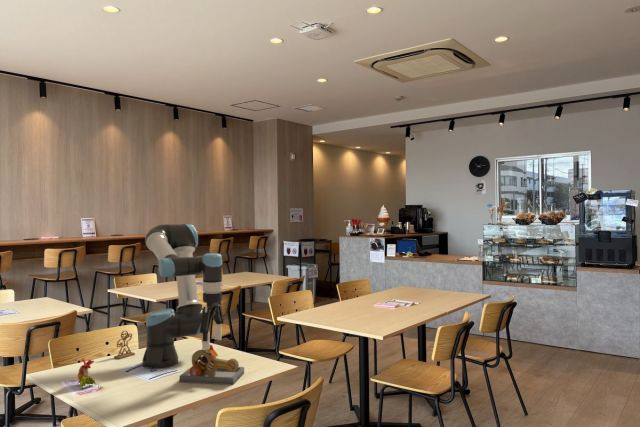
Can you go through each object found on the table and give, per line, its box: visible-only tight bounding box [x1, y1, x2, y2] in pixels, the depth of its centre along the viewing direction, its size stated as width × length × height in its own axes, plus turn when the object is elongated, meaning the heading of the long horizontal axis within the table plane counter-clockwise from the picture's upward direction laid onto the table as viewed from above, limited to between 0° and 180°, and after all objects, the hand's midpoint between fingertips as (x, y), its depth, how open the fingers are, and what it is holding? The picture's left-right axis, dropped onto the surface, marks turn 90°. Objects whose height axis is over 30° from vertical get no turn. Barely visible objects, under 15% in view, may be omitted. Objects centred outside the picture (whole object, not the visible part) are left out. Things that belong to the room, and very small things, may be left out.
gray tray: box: [179, 365, 245, 386], centre depth 196 cm, size 22×14×2 cm, turn 82°
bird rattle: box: [77, 357, 97, 388], centre depth 188 cm, size 6×11×9 cm
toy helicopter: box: [190, 344, 240, 376], centre depth 193 cm, size 8×21×14 cm, turn 70°
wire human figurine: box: [113, 330, 136, 360], centre depth 227 cm, size 9×4×12 cm, turn 149°
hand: (212, 344), depth 197 cm, fingers open, 13 cm apart
